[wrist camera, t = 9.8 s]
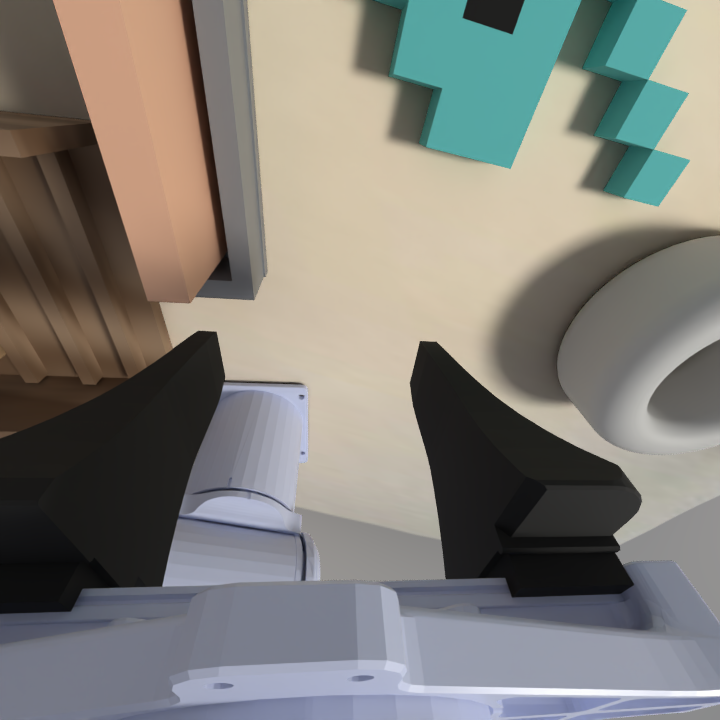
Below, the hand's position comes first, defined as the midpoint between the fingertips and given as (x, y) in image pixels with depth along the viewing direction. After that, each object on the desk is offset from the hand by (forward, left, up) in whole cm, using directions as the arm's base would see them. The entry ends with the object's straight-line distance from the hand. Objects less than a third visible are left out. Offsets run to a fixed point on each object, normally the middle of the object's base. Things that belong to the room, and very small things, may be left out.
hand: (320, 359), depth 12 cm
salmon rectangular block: (+6, +6, -10) cm, 13 cm away
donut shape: (-4, -25, -11) cm, 27 cm away
